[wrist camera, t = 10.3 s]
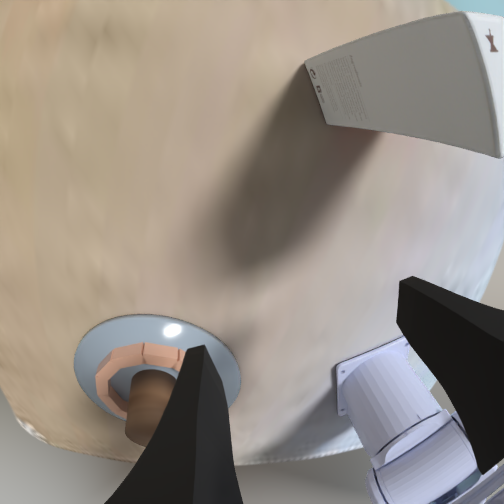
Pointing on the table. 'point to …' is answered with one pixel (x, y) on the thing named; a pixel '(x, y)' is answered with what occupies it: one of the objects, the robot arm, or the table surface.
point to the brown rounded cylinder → (147, 403)
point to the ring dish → (143, 357)
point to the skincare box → (420, 81)
